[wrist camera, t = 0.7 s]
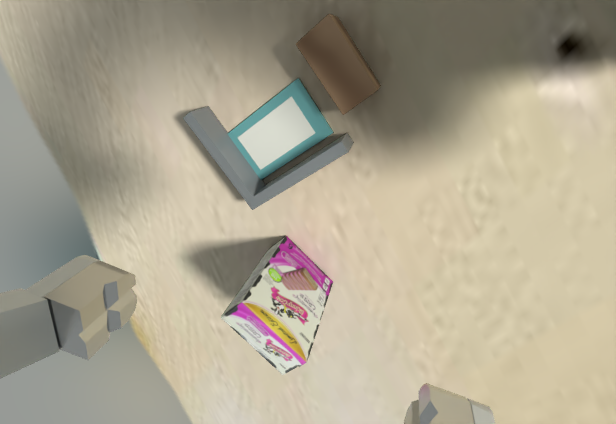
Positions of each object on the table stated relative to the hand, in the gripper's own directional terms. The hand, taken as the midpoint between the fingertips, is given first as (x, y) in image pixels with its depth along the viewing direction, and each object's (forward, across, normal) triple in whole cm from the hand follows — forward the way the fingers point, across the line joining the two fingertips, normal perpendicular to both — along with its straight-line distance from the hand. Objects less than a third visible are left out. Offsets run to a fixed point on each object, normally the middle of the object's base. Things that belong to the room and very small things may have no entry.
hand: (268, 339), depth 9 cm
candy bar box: (+37, +4, +27) cm, 46 cm away
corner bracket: (+37, +12, +6) cm, 40 cm away
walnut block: (+37, +5, -4) cm, 38 cm away
